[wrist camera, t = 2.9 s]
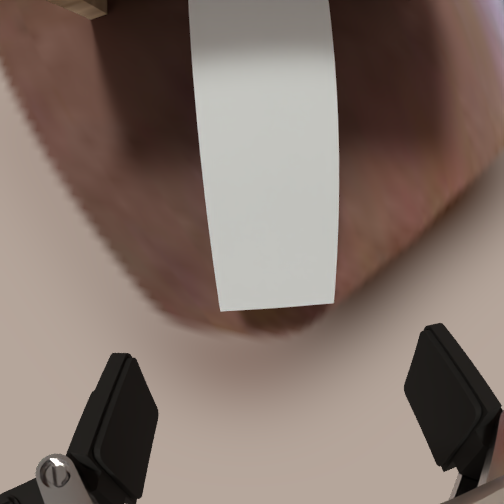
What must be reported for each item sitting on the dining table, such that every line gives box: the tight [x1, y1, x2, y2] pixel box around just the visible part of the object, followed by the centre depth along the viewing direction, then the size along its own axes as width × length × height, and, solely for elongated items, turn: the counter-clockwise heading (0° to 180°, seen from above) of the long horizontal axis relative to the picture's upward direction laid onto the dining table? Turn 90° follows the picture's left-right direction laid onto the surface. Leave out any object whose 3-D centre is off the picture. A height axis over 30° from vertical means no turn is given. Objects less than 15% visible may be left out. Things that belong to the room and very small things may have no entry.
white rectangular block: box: [188, 0, 339, 311], centre depth 15 cm, size 6×16×5 cm, turn 4°
